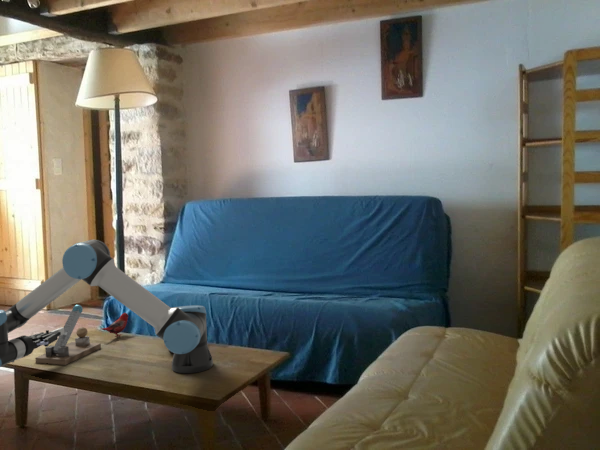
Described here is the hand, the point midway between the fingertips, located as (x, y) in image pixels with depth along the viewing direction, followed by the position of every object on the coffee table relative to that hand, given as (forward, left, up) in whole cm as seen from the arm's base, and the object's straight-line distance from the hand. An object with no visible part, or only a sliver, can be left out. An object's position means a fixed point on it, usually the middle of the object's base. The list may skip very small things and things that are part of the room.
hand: (62, 330), depth 219 cm
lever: (-2, +3, -7) cm, 8 cm away
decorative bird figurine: (+12, -27, -11) cm, 32 cm away
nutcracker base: (+2, -3, -11) cm, 11 cm away
